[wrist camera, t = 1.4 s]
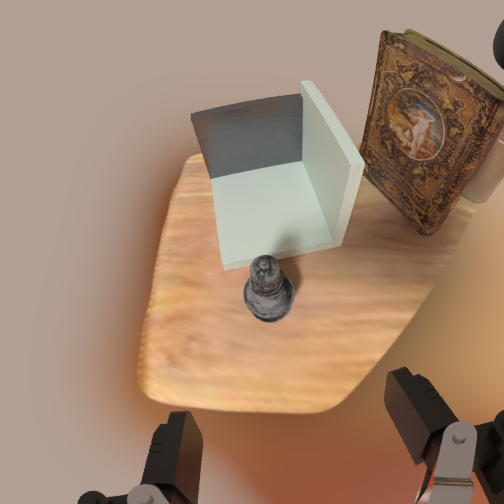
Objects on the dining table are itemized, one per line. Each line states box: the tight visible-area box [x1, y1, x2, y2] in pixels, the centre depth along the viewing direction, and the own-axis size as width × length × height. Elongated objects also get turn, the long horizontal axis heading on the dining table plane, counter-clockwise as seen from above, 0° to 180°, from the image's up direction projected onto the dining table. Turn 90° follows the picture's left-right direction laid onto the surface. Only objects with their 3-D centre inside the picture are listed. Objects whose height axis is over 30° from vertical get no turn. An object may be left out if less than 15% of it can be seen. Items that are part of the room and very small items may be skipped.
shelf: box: [191, 80, 365, 271], centre depth 35 cm, size 16×16×16 cm
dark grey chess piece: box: [243, 255, 295, 322], centre depth 31 cm, size 6×6×12 cm
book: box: [360, 29, 504, 236], centre depth 30 cm, size 16×6×25 cm, turn 31°
